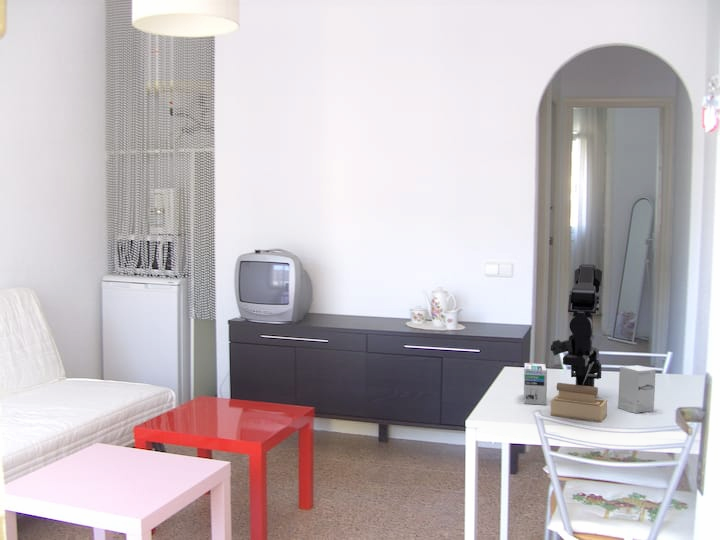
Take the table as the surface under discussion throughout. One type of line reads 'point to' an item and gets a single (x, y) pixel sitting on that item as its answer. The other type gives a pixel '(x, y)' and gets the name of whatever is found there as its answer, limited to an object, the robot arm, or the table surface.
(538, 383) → the light bulb box
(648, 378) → the supplement box
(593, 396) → the flap
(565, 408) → the carton
